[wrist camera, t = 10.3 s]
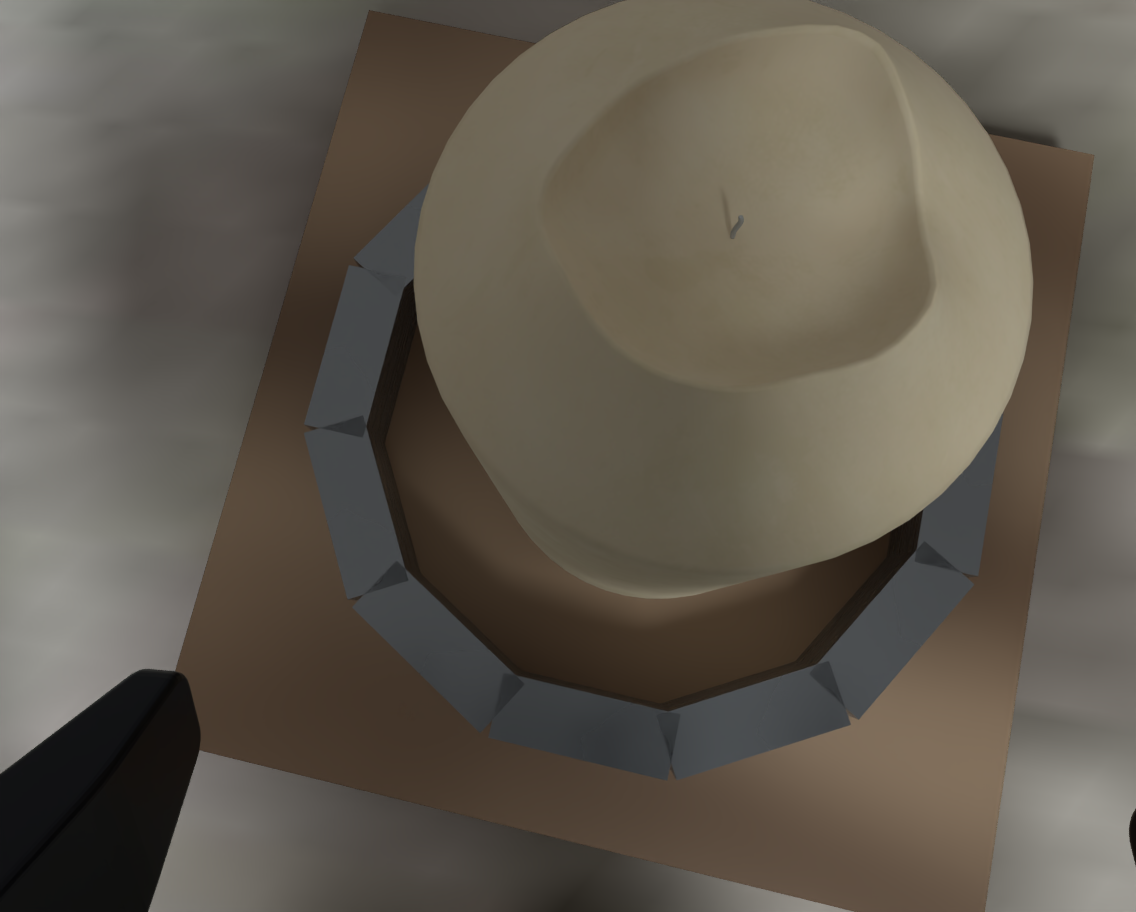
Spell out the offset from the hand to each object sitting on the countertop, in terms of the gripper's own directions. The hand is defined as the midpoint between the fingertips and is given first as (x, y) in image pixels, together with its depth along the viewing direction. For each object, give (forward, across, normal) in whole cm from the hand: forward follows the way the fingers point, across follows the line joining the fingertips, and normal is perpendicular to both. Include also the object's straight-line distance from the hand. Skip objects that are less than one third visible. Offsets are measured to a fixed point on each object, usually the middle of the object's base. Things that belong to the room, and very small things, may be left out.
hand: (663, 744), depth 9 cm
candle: (+8, 0, +2) cm, 9 cm away
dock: (+9, 0, +3) cm, 9 cm away
